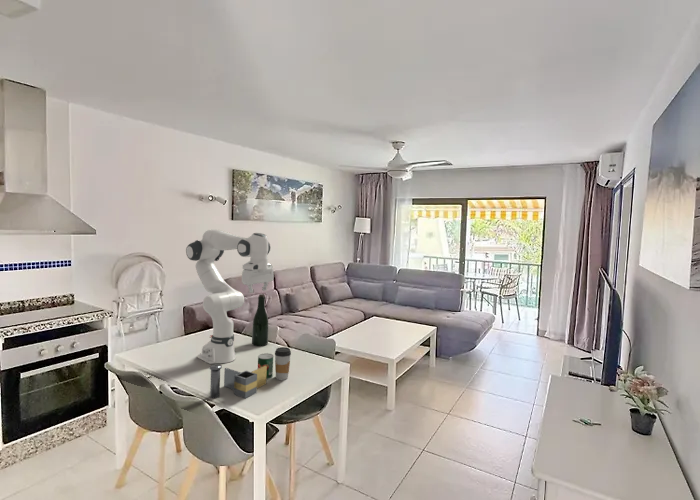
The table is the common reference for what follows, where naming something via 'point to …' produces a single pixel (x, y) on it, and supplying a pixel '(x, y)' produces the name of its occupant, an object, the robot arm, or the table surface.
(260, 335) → the green wine bottle
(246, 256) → the robot arm
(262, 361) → the canned tomato
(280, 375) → the coffee cup
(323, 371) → the table surface
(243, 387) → the hinge leaves
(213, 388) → the hinge pin
